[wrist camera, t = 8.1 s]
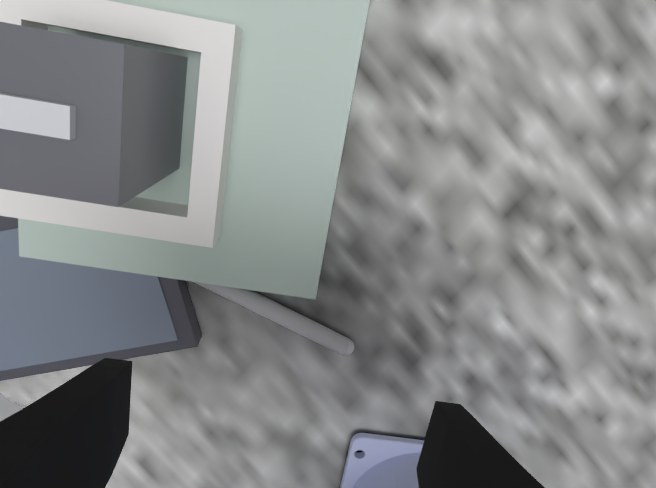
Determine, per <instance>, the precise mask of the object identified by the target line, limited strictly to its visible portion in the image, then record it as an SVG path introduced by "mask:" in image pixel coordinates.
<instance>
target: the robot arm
mask: <svg viewBox="0 0 656 488" xmlns="http://www.w3.org/2000/svg"><path fill="white" fill-rule="evenodd" d="M131 374H132V361H126V360H118V359H111V358H104V359H102V360H101V361H99V362H97V363H96V364H94V365H92V366H91V367H89V368H88V369H86V370H85V371H83V372H81V373H80V374H78V375H77V376H75V377H74V378H72V379H71V380H69V381H67V382H66V383H64V384H63V385H61V386H60V387H58V388H56V389H55V390H53V391H51V392H50V393H48V394H47V395H45V396H43V397H42V398H40V399H39V400H37V401H35V402H34V403H32V404H30V405H29V406H27V407H25V408H23V409H22V410H20V411H18V412H16V413H15V414H13V415H11V416H9V417H7V418H6V419H4V420H2V421H0V488H105V486H106V485H107V483H108V481H109V479H110V477H111V475H112V473H113V470H114V468H115V466H116V463H117V461H118V459H119V456H120V454H121V451H122V449H123V446H124V444H125V441H126V439H127V436H128V432H129V412H130V393H131ZM358 450H362V451H363V452H361V453H357V452H356V451H358ZM340 488H544V487H543V486H542V485H541V484H540V483H539V482H538V481H537V480H536V479H535V478H534V477H533V476H532V475H531V474H529V473H528V472H527V471H526V470H525V469H524V468H523V467H522V466H521V465H520V464H519V463H518V462H517V461H516V460H515V459H514V458H513V457H512V456H511V455H510V454H509V453H508V452H507V451H506V450H505V449H504V448H503V447H502V446H501V445H500V444H499V443H498V442H497V441H496V440H495V439H494V438H493V437H492V435H491V434H490V433H489V432H488V431H487V430H486V429H485V428H484V427H483V426H482V425H481V424H480V423H479V422H478V421H477V420H476V419H475V418H474V417H473V416H472V415H471V414H470V413H469V412H468V411H467V410H466V409H465V408H464V407H463V406H461V405H460V404H454V403H446V402H439V401H436V402H435V405H434V409H433V412H432V416H431V419H430V423H429V426H428V430H427V433H426V436H425V440H417V439H409V438H401V437H393V436H385V435H377V434H369V433H358V434H355V435H354V436H353V437H352V439H351V442H350V446H349V450H348V455H347V459H346V464H345V468H344V472H343V477H342V481H341V485H340Z"/></svg>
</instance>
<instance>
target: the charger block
mask: <svg viewBox="0 0 656 488" xmlns="http://www.w3.org/2000/svg"><path fill="white" fill-rule="evenodd" d="M187 61H188V57H184V56H179V55H174V54H169V53H164V52H159V51H154V50H149V49H145V48H140V47H135V46H130V45H125V44H120V43H114V42H109V41H103V40H98V39H92V38H87V37H81V36H76V35H71V34H65V33H60V32H54V31H49V30H43V29H38V28H32V27H27V26H21V25H16V24H11V23H5V22H0V189H5V190H11V191H17V192H24V193H30V194H37V195H43V196H50V197H56V198H62V199H69V200H75V201H82V202H88V203H94V204H101V205H107V206H114V207H120V206H121V205H123V204H124V203H126V202H127V201H129V200H131V199H132V198H134V197H135V196H137V195H138V194H140V193H142V192H143V191H145V190H146V189H148V188H149V187H151V186H153V185H154V184H156V183H157V182H159V181H160V180H162V179H164V178H165V177H167V176H168V175H170V174H171V173H173V172H175V171H176V170H178V169H179V167H180V154H181V141H182V127H183V114H184V101H185V88H186V75H187Z"/></svg>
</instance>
